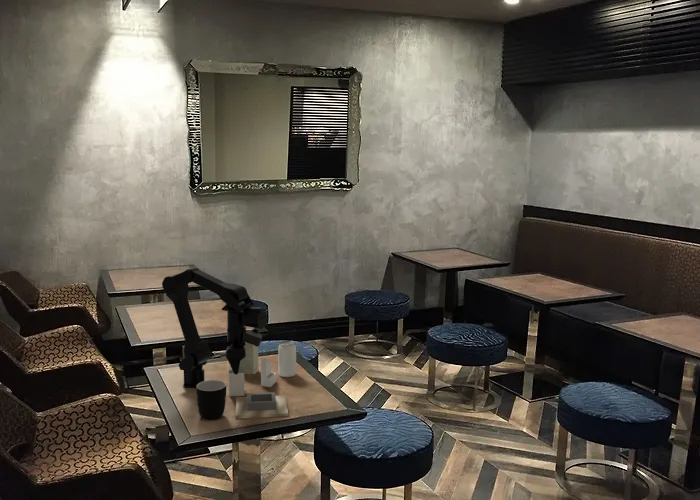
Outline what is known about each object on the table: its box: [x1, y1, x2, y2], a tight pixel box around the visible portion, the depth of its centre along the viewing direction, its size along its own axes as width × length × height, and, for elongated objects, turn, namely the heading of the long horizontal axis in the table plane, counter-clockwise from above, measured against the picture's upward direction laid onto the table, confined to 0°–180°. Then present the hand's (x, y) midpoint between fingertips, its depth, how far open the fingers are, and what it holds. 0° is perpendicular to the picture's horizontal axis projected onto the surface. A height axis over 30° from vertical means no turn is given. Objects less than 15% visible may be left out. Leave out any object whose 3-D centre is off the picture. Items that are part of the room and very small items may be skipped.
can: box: [277, 340, 297, 378], centre depth 227 cm, size 6×6×12 cm
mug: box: [195, 379, 227, 422], centre depth 191 cm, size 12×9×10 cm
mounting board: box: [235, 395, 289, 420], centre depth 198 cm, size 16×14×1 cm
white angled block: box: [260, 357, 277, 388], centre depth 217 cm, size 4×10×9 cm, turn 168°
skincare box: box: [240, 342, 259, 375], centre depth 228 cm, size 6×4×12 cm
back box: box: [246, 392, 277, 411], centre depth 197 cm, size 9×8×2 cm
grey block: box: [228, 366, 245, 397], centre depth 208 cm, size 5×4×9 cm
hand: (236, 369), depth 208 cm, fingers open, 9 cm apart
